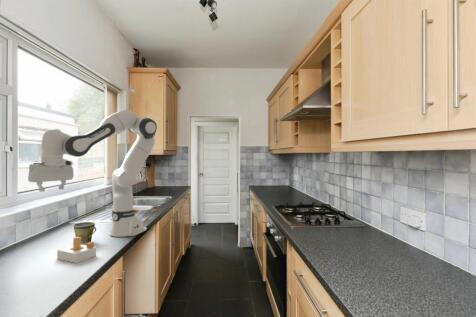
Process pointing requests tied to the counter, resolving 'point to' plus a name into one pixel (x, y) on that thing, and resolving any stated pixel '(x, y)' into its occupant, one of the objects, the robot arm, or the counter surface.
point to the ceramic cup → (84, 231)
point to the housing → (77, 253)
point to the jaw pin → (76, 243)
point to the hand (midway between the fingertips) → (51, 190)
